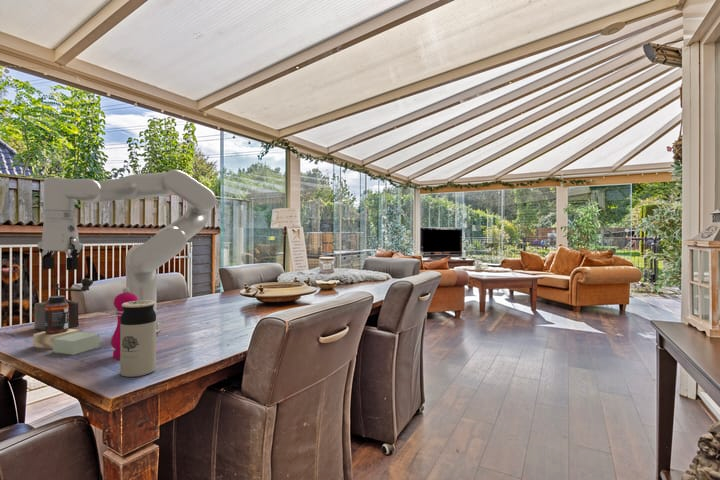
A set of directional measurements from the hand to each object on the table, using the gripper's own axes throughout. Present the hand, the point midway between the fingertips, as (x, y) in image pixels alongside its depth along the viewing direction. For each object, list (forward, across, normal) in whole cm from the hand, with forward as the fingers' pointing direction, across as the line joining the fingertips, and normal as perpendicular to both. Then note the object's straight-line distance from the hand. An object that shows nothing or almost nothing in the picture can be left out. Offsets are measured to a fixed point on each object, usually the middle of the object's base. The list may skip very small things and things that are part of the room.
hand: (60, 269), depth 122 cm
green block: (+24, -12, +4) cm, 27 cm away
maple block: (+24, -1, +2) cm, 24 cm away
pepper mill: (+24, -31, +5) cm, 40 cm away
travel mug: (+24, -44, +14) cm, 53 cm away
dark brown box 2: (+24, +20, -17) cm, 35 cm away
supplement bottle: (+20, -1, +2) cm, 20 cm away
